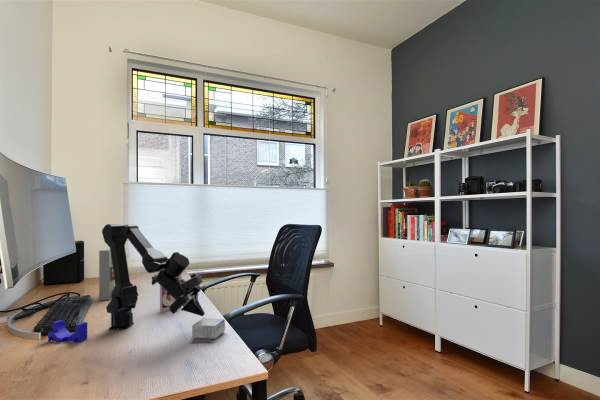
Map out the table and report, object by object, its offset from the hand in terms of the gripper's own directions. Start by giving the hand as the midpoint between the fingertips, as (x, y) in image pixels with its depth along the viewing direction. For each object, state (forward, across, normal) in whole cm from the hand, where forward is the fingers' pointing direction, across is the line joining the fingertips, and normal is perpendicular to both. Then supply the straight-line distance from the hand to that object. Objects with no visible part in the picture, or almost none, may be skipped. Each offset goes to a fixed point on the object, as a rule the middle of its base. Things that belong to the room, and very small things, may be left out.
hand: (203, 315), depth 118 cm
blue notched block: (-28, -3, +38) cm, 47 cm away
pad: (+6, -1, +4) cm, 7 cm away
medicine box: (+1, 0, +5) cm, 5 cm away
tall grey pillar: (-41, +58, +50) cm, 87 cm away
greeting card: (-14, +34, +23) cm, 44 cm away
